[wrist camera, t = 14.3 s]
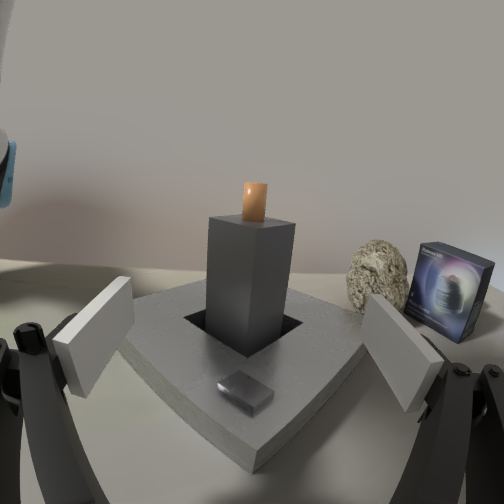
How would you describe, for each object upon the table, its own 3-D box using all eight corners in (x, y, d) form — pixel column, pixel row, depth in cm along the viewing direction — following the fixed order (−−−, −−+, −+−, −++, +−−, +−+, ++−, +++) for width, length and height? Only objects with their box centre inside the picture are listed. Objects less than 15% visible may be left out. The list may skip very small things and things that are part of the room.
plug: (205, 343, 26) (211, 180, 22) (240, 326, 29) (252, 181, 25) (243, 368, 23) (260, 185, 19) (278, 346, 26) (299, 187, 22)
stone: (362, 334, 29) (383, 251, 27) (335, 299, 39) (347, 230, 36) (404, 331, 30) (425, 254, 27) (372, 299, 39) (385, 234, 37)
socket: (104, 333, 25) (99, 302, 24) (238, 289, 40) (240, 265, 39) (251, 474, 13) (257, 444, 12) (372, 344, 27) (381, 315, 26)
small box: (400, 312, 35) (418, 241, 32) (422, 304, 38) (438, 240, 35) (457, 345, 26) (484, 265, 23) (473, 332, 29) (496, 261, 26)
